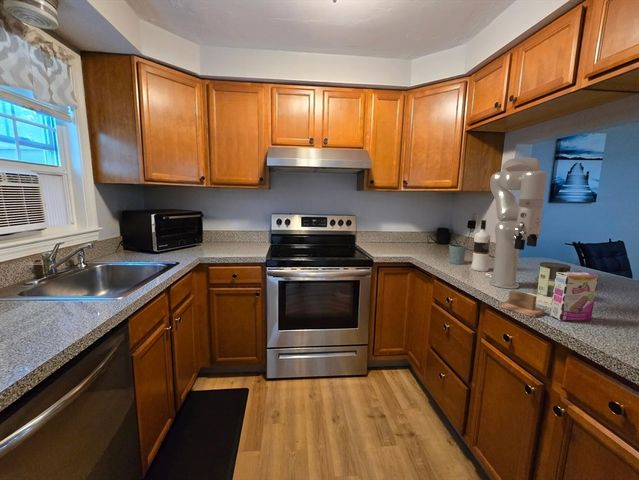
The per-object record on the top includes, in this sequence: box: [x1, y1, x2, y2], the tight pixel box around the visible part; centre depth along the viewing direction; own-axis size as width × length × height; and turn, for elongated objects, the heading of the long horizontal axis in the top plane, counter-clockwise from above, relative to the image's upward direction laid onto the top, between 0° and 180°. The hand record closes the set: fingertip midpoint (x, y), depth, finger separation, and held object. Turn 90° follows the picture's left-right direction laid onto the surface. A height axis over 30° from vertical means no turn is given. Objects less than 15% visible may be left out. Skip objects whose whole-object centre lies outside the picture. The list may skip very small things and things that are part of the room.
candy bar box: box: [549, 271, 599, 322], centre depth 99 cm, size 11×5×16 cm, turn 92°
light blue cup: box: [448, 243, 467, 266], centre depth 186 cm, size 10×10×12 cm
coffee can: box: [536, 261, 572, 298], centre depth 123 cm, size 10×10×14 cm
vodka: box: [470, 219, 492, 273], centre depth 167 cm, size 9×9×30 cm
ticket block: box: [526, 292, 552, 309], centre depth 116 cm, size 12×8×2 cm, turn 31°
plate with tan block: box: [499, 289, 545, 318], centre depth 107 cm, size 12×7×6 cm, turn 31°
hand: (525, 247), depth 111 cm, fingers open, 9 cm apart
